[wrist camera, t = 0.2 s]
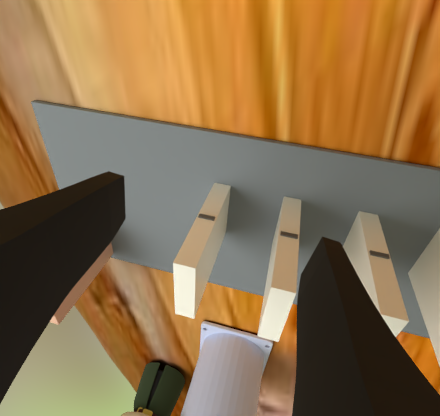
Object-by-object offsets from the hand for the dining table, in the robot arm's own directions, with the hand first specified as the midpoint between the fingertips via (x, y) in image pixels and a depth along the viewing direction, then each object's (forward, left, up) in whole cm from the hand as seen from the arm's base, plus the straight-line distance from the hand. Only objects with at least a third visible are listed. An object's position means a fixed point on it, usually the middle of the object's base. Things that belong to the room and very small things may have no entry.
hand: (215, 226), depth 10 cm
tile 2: (-7, -8, -10) cm, 14 cm away
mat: (-8, -1, -10) cm, 13 cm away
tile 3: (-7, -3, -10) cm, 12 cm away
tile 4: (-7, +2, -10) cm, 12 cm away
